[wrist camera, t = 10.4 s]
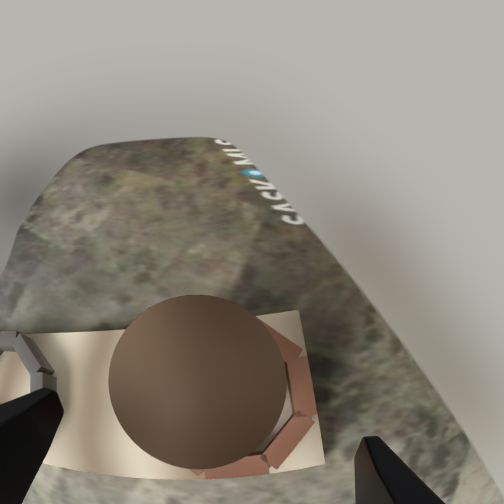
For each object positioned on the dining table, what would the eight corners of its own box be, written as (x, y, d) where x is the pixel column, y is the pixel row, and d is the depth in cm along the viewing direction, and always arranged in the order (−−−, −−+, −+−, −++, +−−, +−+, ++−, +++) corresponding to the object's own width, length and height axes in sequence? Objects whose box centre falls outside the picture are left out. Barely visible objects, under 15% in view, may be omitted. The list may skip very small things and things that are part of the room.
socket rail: (296, 316, 18) (301, 300, 16) (321, 460, 14) (331, 468, 11) (-9, 338, 17) (-31, 326, 15) (-10, 444, 13) (-34, 442, 11)
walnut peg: (196, 446, 13) (123, 474, 6) (181, 366, 16) (102, 311, 8) (282, 430, 14) (306, 449, 6) (262, 350, 16) (261, 278, 8)
